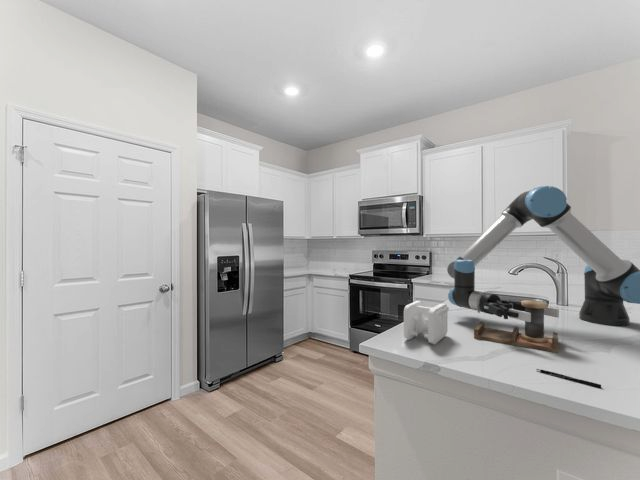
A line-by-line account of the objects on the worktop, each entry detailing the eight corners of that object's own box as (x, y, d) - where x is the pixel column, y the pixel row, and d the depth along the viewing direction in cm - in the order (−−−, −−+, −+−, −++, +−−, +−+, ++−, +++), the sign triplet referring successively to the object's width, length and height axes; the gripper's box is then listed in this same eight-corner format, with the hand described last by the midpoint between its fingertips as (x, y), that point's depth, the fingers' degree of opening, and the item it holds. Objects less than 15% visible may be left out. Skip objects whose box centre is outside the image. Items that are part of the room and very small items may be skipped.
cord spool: (548, 338, 99) (548, 302, 99) (547, 344, 94) (547, 305, 94) (522, 334, 104) (522, 299, 104) (520, 340, 98) (520, 302, 98)
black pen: (536, 372, 78) (536, 368, 78) (537, 371, 78) (537, 367, 78) (600, 389, 69) (600, 385, 69) (601, 388, 69) (601, 384, 69)
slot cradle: (557, 342, 100) (557, 332, 100) (557, 352, 90) (557, 342, 90) (481, 329, 114) (481, 321, 114) (474, 338, 104) (473, 329, 104)
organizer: (419, 330, 113) (419, 299, 113) (449, 336, 107) (449, 302, 107) (403, 341, 102) (402, 306, 102) (435, 348, 95) (435, 310, 95)
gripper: (508, 309, 120) (569, 323, 100) (460, 315, 111) (517, 332, 91) (508, 290, 120) (569, 300, 100) (460, 295, 111) (517, 306, 91)
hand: (544, 315), depth 96 cm, fingers open, 13 cm apart
